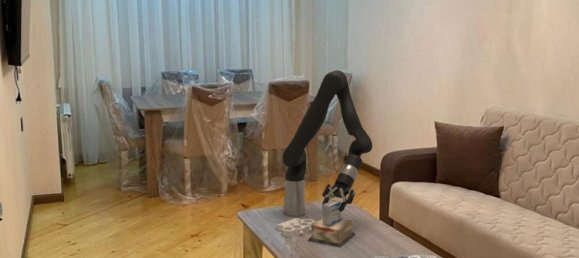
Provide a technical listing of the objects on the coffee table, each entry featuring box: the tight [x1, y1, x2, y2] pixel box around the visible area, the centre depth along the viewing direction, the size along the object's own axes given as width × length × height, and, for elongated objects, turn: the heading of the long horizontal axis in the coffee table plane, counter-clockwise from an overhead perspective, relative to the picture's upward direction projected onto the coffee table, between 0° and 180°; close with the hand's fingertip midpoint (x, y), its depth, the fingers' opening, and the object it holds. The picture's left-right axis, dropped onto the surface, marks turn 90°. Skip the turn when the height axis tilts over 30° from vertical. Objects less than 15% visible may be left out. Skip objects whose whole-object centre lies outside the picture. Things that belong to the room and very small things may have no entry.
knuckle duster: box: [275, 217, 316, 238], centre depth 262 cm, size 3×18×15 cm
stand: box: [308, 217, 356, 248], centre depth 252 cm, size 15×15×7 cm
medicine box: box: [321, 200, 342, 226], centre depth 251 cm, size 8×4×9 cm, turn 141°
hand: (331, 208), depth 250 cm, fingers open, 8 cm apart
